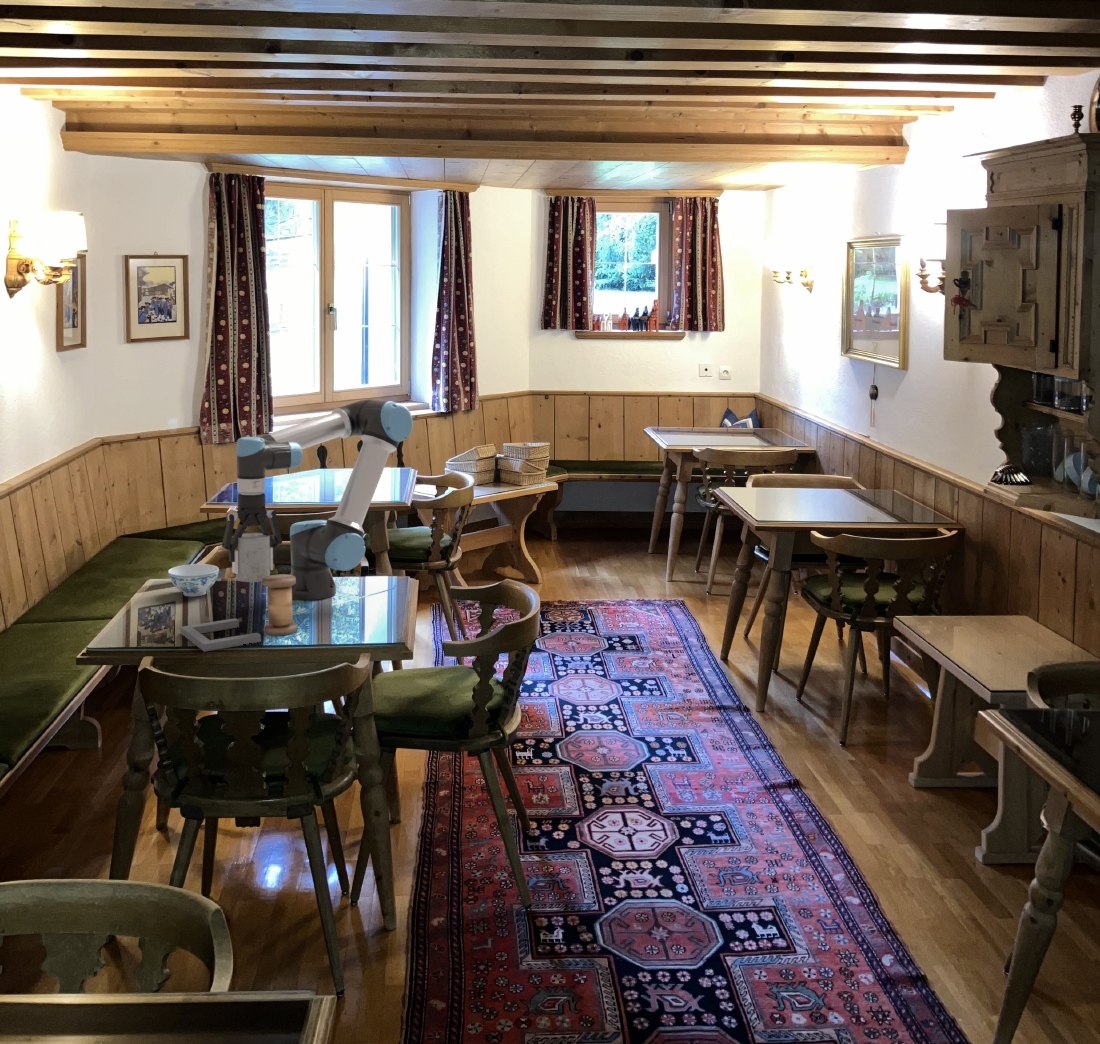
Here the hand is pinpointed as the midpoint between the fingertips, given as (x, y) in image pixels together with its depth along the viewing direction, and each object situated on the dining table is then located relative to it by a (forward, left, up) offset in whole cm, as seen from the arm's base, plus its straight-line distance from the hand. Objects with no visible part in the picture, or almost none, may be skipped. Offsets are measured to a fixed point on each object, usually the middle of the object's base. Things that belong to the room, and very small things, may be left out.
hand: (252, 570), depth 328 cm
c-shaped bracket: (+10, -14, -15) cm, 23 cm away
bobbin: (+13, +3, -15) cm, 20 cm away
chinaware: (-39, -4, -15) cm, 42 cm away
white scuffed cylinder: (0, 0, -2) cm, 2 cm away
